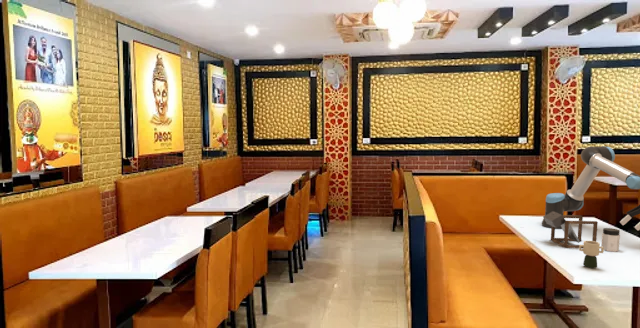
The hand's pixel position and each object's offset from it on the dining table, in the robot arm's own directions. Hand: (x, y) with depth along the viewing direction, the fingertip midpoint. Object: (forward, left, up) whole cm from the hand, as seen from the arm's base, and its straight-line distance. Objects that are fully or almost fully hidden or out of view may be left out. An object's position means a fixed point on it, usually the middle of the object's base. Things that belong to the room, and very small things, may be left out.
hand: (628, 226), depth 271 cm
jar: (0, -9, -14) cm, 17 cm away
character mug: (+35, -39, -14) cm, 54 cm away
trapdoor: (-11, -36, -7) cm, 39 cm away
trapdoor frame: (-11, -25, -14) cm, 31 cm away
